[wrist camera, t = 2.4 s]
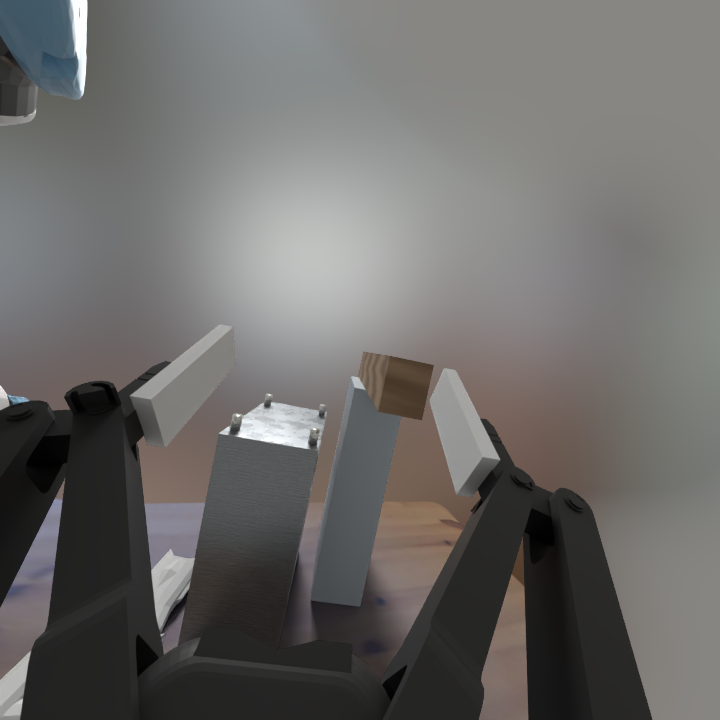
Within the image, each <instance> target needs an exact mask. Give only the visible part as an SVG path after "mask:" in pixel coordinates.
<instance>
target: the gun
mask: <svg viewBox="0 0 720 720" xmlns="http://www.w3.org/2000/svg"><path fill="white" fill-rule="evenodd" d="M194 560H195V558H191V559H187V558H183V557H178V556H174V555H173V553H172V550H171V549H170V550H169V551H168V553H167V554H166V555H165V556H164V557H163V558H162V559H161V560H160V561H159V563H158V564H157V565H156V566H155V567H154V568H153V569H152V570H151V573H152V583H153V592H154V602H155V611H156V618H157V623H158V627H159V630H160V634H161V633H162V630H163V628H164V626H165V623H166V621H167V619H168V616H169V615H170V613H171V612H172V610H173V609H174V607H175V606H176V604H178V603H179V602H180V601H181V600H182V599H183V598H184V596H185V595H186V593H187V592H188V590H189V586H190V581H191V575H192V570H193V565H194ZM163 635H164V634H161V637H162V636H163ZM162 642H163V640H162ZM30 654H31V651H30V652H29V653H28V654H27V655H26V656H25V657H24V658H23V659H22V660H21V661H20V662H19V663H18V664H17V665H16V666H15V667H13V668H12V669H11V670H10V671H9V672H8V673H7V674H6V675H5V676H4V677H3V678H2V679H1V680H0V720H20V715H21V709H22V702H23V695H24V689H25V682H26V675H27V669H28V662H29V658H30Z"/></svg>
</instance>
